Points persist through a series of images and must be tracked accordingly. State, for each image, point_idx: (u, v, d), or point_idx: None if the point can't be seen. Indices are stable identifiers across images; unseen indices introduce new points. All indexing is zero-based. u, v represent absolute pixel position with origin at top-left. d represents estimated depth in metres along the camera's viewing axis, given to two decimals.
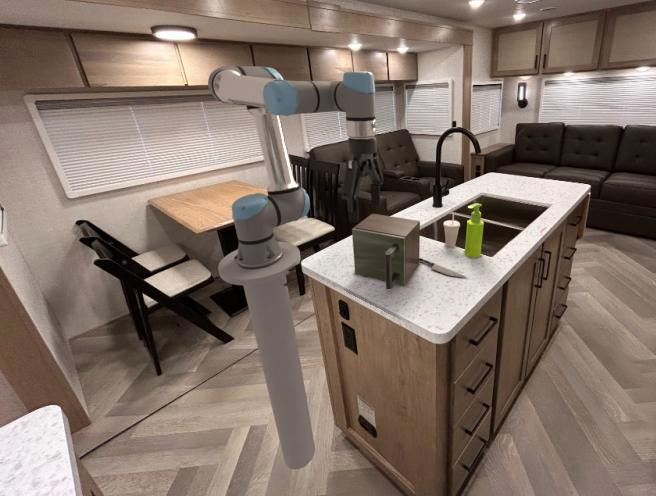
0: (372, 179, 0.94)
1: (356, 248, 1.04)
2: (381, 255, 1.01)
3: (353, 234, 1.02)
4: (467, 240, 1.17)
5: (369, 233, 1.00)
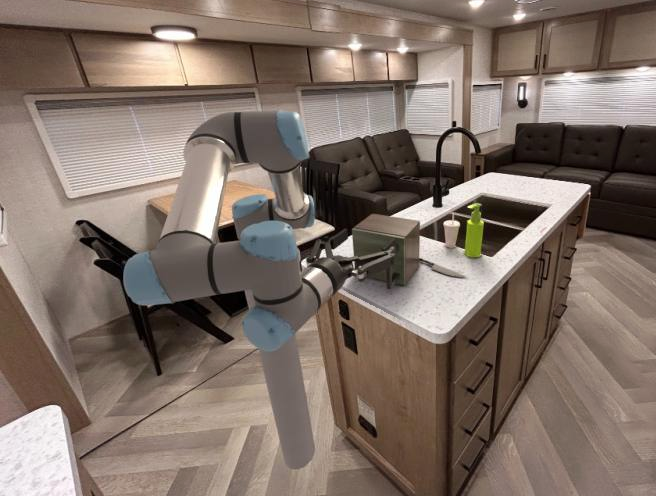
0: None
1: (356, 248, 1.04)
2: None
3: (353, 234, 1.02)
4: (467, 240, 1.17)
5: (369, 233, 1.00)
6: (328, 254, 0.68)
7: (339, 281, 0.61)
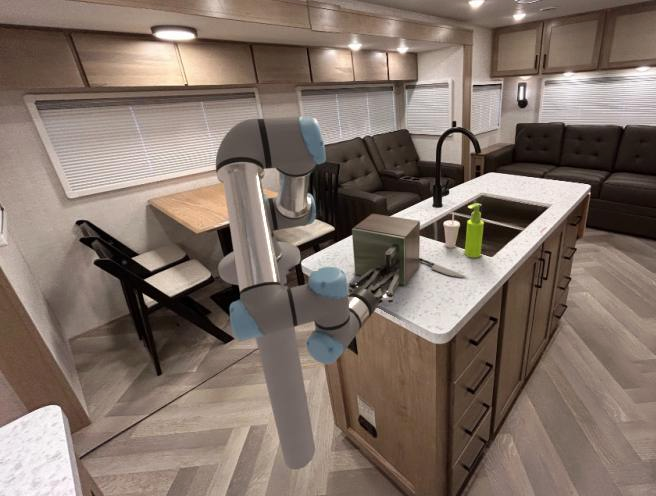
0: None
1: (356, 248, 1.04)
2: (381, 255, 1.01)
3: (353, 234, 1.02)
4: (467, 240, 1.17)
5: (369, 233, 1.00)
6: (366, 283, 0.85)
7: (373, 307, 0.78)
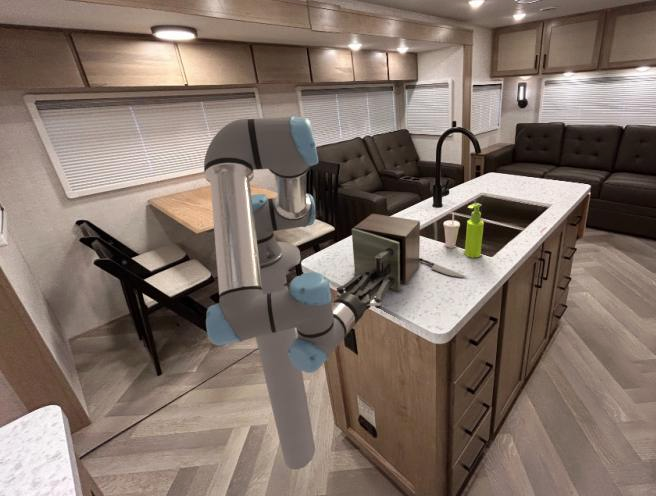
0: None
1: (356, 249, 1.04)
2: None
3: (353, 234, 1.02)
4: (467, 240, 1.17)
5: (366, 235, 0.99)
6: (354, 288, 0.83)
7: (359, 313, 0.76)
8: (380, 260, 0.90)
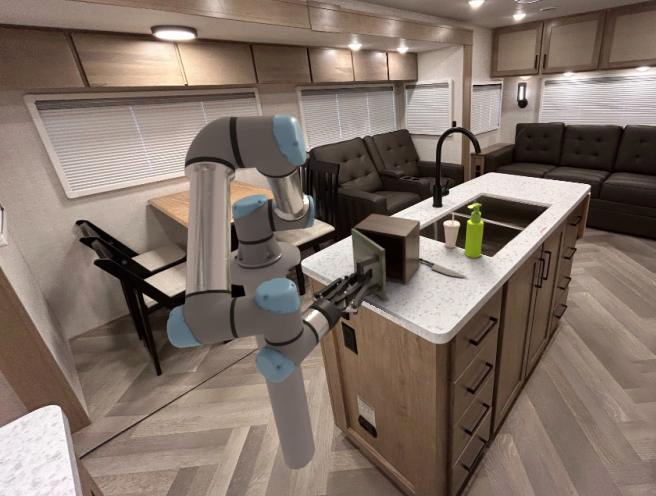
0: None
1: (354, 249, 1.03)
2: None
3: (352, 234, 1.02)
4: (467, 240, 1.17)
5: (361, 237, 0.97)
6: (331, 293, 0.81)
7: (334, 319, 0.74)
8: (360, 264, 0.88)
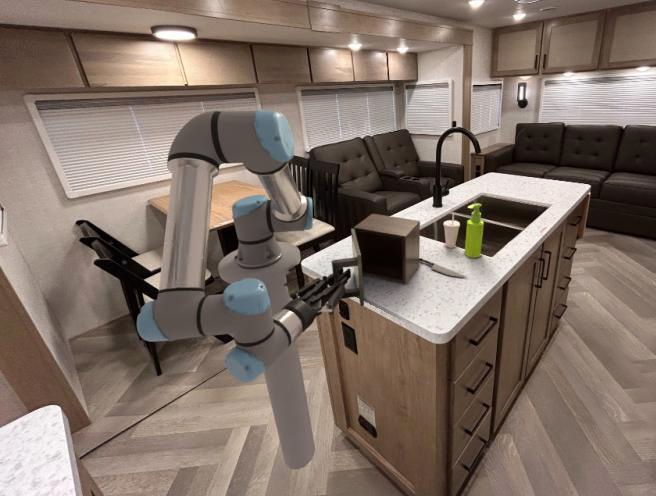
0: None
1: None
2: None
3: (351, 234, 1.02)
4: (467, 240, 1.17)
5: (353, 238, 0.97)
6: (307, 293, 0.81)
7: (308, 320, 0.74)
8: (334, 265, 0.87)
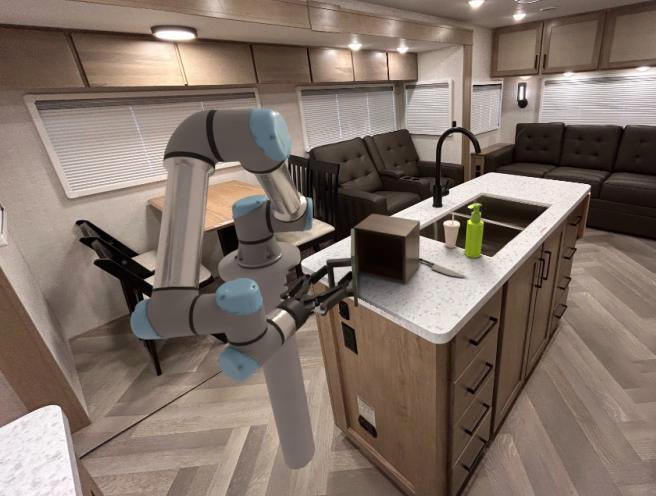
0: None
1: None
2: None
3: None
4: (467, 240, 1.17)
5: None
6: (298, 293, 0.82)
7: (301, 319, 0.74)
8: (328, 265, 0.88)
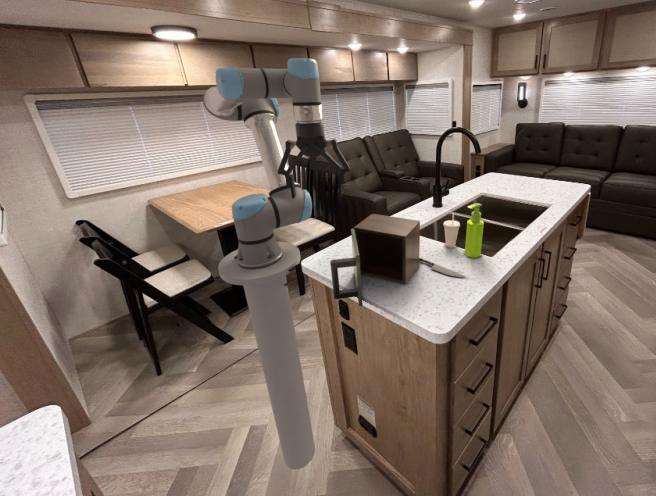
0: None
1: None
2: None
3: (351, 234, 1.02)
4: (467, 240, 1.17)
5: (352, 238, 0.96)
6: None
7: (323, 127, 0.89)
8: (333, 265, 0.87)
